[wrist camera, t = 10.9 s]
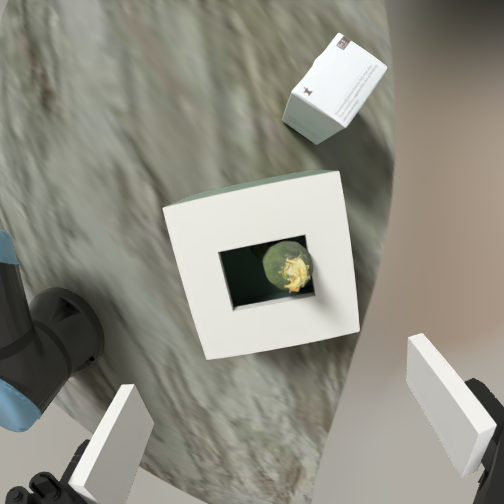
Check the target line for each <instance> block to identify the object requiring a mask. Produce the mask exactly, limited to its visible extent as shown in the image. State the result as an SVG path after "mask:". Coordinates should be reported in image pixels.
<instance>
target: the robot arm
mask: <svg viewBox="0 0 504 504" xmlns="http://www.w3.org/2000/svg"><path fill="white" fill-rule="evenodd" d="M103 346H104V337H103V331H102V328H101V325H100V323H99V320H98V318H97V317H96V315H95V313H94V312H93V310H92V309H91V308H90V307H89V305H88V304H87V303H86V302H85V301H84V300H83V299H81V298H80V297H79V296H78V295H76V294H74V293H73V292H71V291H69V290H66V289H63V288H49V289H46V290H44V291H43V292H41V293H40V294H39V295H37V296H36V297H35V298H34V299H33V300H32V302H31V303H30V305H29V307H28V303H27V299H26V295H25V291H24V287H23V283H22V279H21V274H20V270H19V261H18V260H17V258H16V254H15V250H14V245H13V241H12V238H11V236H10V235H9V233H8V232H6V231H5V230H1V229H0V426H2V427H3V428H5V429H8V430H10V431H14V432H24V431H26V430H28V429H29V428H30V427H31V426H32V425H33V424H34V423H35V422H36V420H38V419H40V417H41V415H42V414H43V413H44V411H45V410H46V408H47V407H48V406H49V404H50V403H51V402H52V400H53V399H54V398H55V396H56V395H57V393H58V392H59V391H60V389H61V388H62V387H63V385H64V384H65V383H66V381H67V380H68V379H69V378H70V377H72V376H74V375H76V374H78V373H81V372H83V371H85V370H87V369H89V368H90V367H91V366H92V365H93V364H94V363H95V362H96V361H97V359H98V358H99V357H100V355H101V353H102V351H103ZM406 383H407V385H408V386H409V388H410V390H411V391H412V393H413V395H414V396H415V398H416V400H417V401H418V403H419V405H420V406H421V408H422V410H423V412H424V413H425V415H426V417H427V418H428V420H429V422H430V424H431V426H432V427H433V429H434V431H435V433H436V434H437V436H438V438H439V440H440V442H441V443H442V445H443V447H444V449H445V451H446V453H447V454H448V456H449V458H450V460H451V462H452V464H453V465H454V468H455V469H456V471H457V473H458V475H459V477H460V478H463V477H465V476H467V475H469V474H471V473H473V472H475V471H477V470H478V468H479V466H480V463H482V464H483V466H484V468H485V470H484V472H483V474H482V476H481V478H480V480H479V481H478V483H480V484H479V487H478V490H477V493H476V496H475V499H474V502H473V504H504V407H503V406H502V405H501V403H500V402H499V401H498V400H497V398H495V396H494V395H493V394H492V393H491V392H490V390H489V389H488V388H487V387H486V386H485V384H483V383H482V382H480V381H479V380H476V379H475V378H472V379H470V380H468V381H465V382H463V381H462V379H461V378H460V377H459V376H458V375H457V373H456V372H455V371H454V370H453V368H452V367H451V366H450V365H449V364H448V362H447V361H446V360H445V359H444V358H443V356H442V355H441V354H440V353H439V352H438V351H437V349H436V348H435V347H434V346H433V345H432V344H431V342H430V341H429V340H428V339H427V338H426V337H425V336H424V334H423V333H421V334H418V335H414V336H411V337H408V356H407V376H406ZM153 426H154V421H153V420H152V418H151V416H150V414H149V412H148V410H147V408H146V406H145V404H144V402H143V400H142V398H141V396H140V394H139V392H138V390H137V388H136V386H135V384H128V385H121V387H120V389H119V390H118V392H117V394H116V396H115V397H114V399H113V401H112V403H111V404H110V406H109V408H108V410H107V412H106V413H105V415H104V417H103V419H102V421H101V422H100V424H99V426H98V428H97V430H96V431H95V433H94V435H93V437H92V439H91V440H87V439H86V440H85V441H84V442H83V443H82V444H81V445H80V446H79V447H78V449H77V451H76V452H75V454H74V455H75V456H73V458H72V460H71V462H70V463H69V465H68V467H67V469H66V470H65V472H64V474H63V476H62V478H61V480H60V481H59V482H58V480H57V479H56V478H55V477H54V476H53V475H52V474H51V473H49V472H40V473H38V474H36V475H35V476H34V477H33V478H32V479H31V481H30V483H29V488H30V489H31V490H32V491H33V492H34V493H31V494H30V493H29V492H28V491H27V490H26V489H25V488H24V487H22V486H17V487H13V488H12V489H11V490H10V491H9V492H8V493H7V496H6V501H5V504H125V503H126V501H127V498H128V495H129V492H130V489H131V486H132V484H133V481H134V478H135V475H136V472H137V469H138V467H139V464H140V461H141V459H142V456H143V453H144V450H145V448H146V445H147V442H148V439H149V437H150V434H151V431H152V429H153Z"/></svg>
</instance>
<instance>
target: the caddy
mask: <svg viewBox="0 0 504 504" xmlns="http://www.w3.org/2000/svg"><path fill="white" fill-rule="evenodd" d="M163 212H164V216H165V219H166V223H167V227H168V231H169V235H170V239H171V243H172V246H173V250H174V254H175V257H176V261H177V265H178V268H179V272H180V275H181V279H182V282H183V286H184V289H185V292H186V296H187V299H188V302H189V306H190V309H191V312H192V316H193V319H194V322H195V325H196V328H197V331H198V335H199V338H200V341H201V344H202V347H203V350H204V353H205V356H206V359H207V360H209V359H217V358H224V357H231V356H237V355H244V354H250V353H256V352H262V351H268V350H274V349H279V348H285V347H290V346H295V345H300V344H305V343H310V342H315V341H320V340H324V339H329V338H334V337H338V336H342V335H347V334H351V333H355V332H359V331H360V328H359V315H358V304H357V293H356V284H355V274H354V266H353V257H352V250H351V242H350V235H349V228H348V221H347V214H346V208H345V202H344V196H343V190H342V184H341V179H340V173H339V171H331V170H316V169H313V170H307V171H301V172H296V173H291V174H286V175H280V176H275V177H270V178H265V179H260V180H256V181H251V182H246V183H241V184H237V185H232V186H228V187H223V188H219V189H214V190H210V191H206V192H201V193H197V194H193V195H191V196H189V197H186V198H184V199H182V200H180V201H177V202H175V203H173V204H171V205H168V206H166V207H164V208H163ZM285 238H286V239H288V240H292V241H295V242H297V243H299V244H300V245H302V246H303V247H304V248H305V249H306V250H307V251H308V252H309V253H310V256H311V258H312V262H313V273H312V275H311V277H310V280H309V281H308V282H307V283H306V284H305V285H304V287H301V288H300V289H299V291H298V292H296V291H291V292H290V293H289V291H290V290H282V289H280V288H278V287H277V286H275V285H274V284H272V283H271V282H270V281H269V280H268V278H267V276H266V273H265V270H264V266H263V262H262V261H261V260H260V259H258V258H257V257H256V256H255V255H254V254H253V253H252V252H251V249H250V245H255V244H260V243H265V242H270V241H275V240H280V239H285Z"/></svg>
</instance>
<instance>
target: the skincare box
mask: <svg viewBox="0 0 504 504" xmlns="http://www.w3.org/2000/svg"><path fill="white" fill-rule="evenodd" d="M387 69H388V67H387V66H385V65H384V64H383V63H382V62H380V61H379V60H378V59H376V58H375V57H374V56H372V55H371V54H370V53H368V52H367V51H365V50H364V49H363V48H361V47H360V46H358V45H357V44H355V43H354V42H352V41H351V40H349V39H348V38H346V37H345V36H343V35H342V34H341V33H338V34H337V35H336V37H335V38H334V39H333V40H332V42H331V43H330V44H329V46H328V47H327V48H326V49H325V51H324V52H323V53H322V54H321V55H320V56H319V57H318V58H317V59H316V60H315V61H314V63H313V66H312V67H311V69H310V70H309V71H308V73H307V74H306V75H305V76H304V78H303V79H302V80H301V81H300V82H299V84H298V85H297V86H296V87H295V88H294V89H293V90H292V92H291V95H290V98H289V100H288V103H287V106H286V109H285V111H284V114H283V117H282V121H283V122H284V123H286V124H287V125H289V126H290V127H292V128H293V129H295V130H296V131H297V132H299V133H300V134H302V135H303V136H305V137H306V138H307V139H309V140H310V141H312V142H313V143H314V144H316V145H318V144H320V143H321V142H323V141H324V140H326V139H328V138H329V137H331V136H332V135H334V134H336V133H337V132H339V131H341V130H342V129H344V128H346V127H347V126H348V125H349V124H350V122H351V121H352V120H353V118H354V117H355V115H356V114H357V113H358V111H359V110H360V109H361V107H362V106H363V104H364V103H365V102H366V100H367V99H368V97H369V96H370V94H371V93H372V91H373V90H374V88H375V87H376V86H377V84H378V83H379V81H380V80H381V78H382V77H383V75H384V74H385V72H386V71H387Z"/></svg>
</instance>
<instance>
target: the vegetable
mask: <svg viewBox="0 0 504 504" xmlns="http://www.w3.org/2000/svg"><path fill="white" fill-rule="evenodd" d="M250 249H251V252H252V253H253V254H254V255H255V256H256V257H257V258H258V259H260V260H261V261H262V262H263V266H264V270H265V273H266V276H267V278H268V280H269V281H270V282H271V283H272V284H274V285H275V286H277V287H278V288H280V289H282V290H290V291H289V293H290V292H291V291H296V292H298V291H299V289H300V288H301V287H304V285H305V284H306V283H307V282H308V281H309V280H310V277H311V275H312V273H313V262H312V258H311V256H310V253H309V252H308V251H307V250H306V249H305V248H304V247H303V246H302V245H300V244H299V243H297V242H295V241H292V240H288V239H286V238H285V239H280V240H275V241H270V242H265V243H260V244H255V245H250Z"/></svg>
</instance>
